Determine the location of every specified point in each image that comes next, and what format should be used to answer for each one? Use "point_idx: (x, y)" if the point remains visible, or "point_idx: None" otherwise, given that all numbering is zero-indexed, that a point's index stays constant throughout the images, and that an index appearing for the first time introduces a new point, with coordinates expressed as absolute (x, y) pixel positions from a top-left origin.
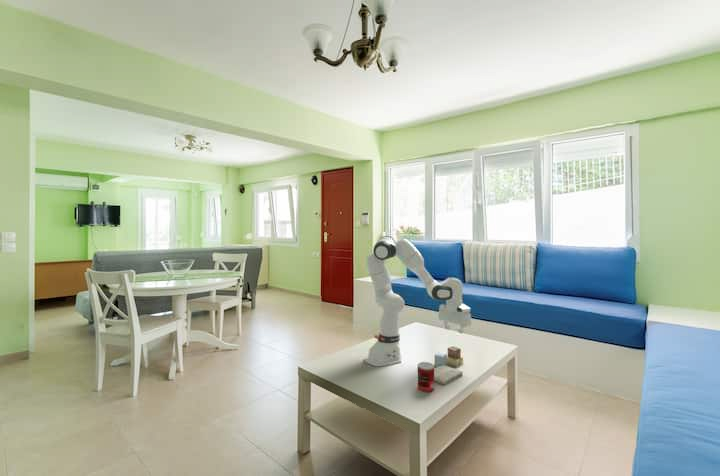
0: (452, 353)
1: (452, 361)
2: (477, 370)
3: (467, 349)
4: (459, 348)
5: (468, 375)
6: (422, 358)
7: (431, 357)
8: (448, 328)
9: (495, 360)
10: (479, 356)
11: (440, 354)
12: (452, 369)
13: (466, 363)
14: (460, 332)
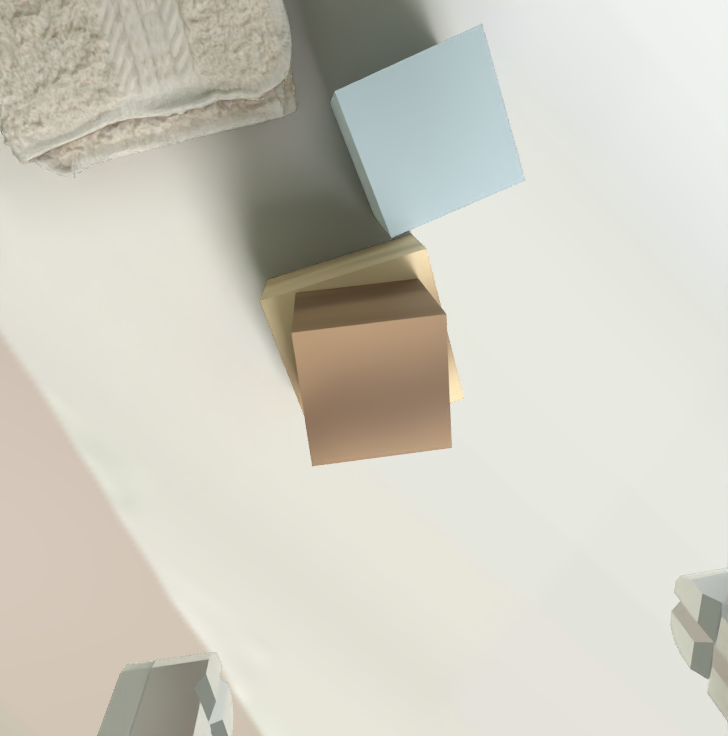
0: (337, 308)
1: (324, 272)
2: (103, 407)
3: (547, 657)
4: (327, 457)
5: (15, 223)
6: (695, 72)
7: (639, 209)
8: (684, 629)
9: (234, 684)
10: (370, 638)
11: (435, 135)
12: (109, 72)
13: (299, 435)
14: (137, 675)
